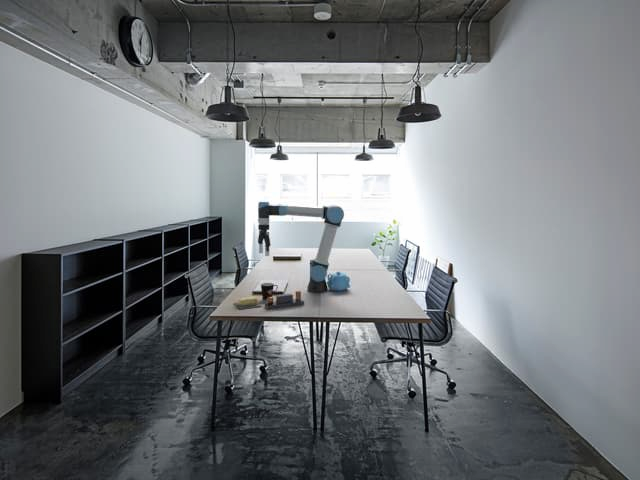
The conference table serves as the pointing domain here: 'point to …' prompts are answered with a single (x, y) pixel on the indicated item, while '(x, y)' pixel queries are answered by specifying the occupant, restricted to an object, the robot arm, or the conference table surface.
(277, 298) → the hand plane
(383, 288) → the conference table surface
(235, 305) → the rubber mat
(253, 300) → the tan rectangular brick
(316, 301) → the conference table surface
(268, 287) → the coffee mug
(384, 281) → the conference table surface
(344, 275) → the decorative pot
